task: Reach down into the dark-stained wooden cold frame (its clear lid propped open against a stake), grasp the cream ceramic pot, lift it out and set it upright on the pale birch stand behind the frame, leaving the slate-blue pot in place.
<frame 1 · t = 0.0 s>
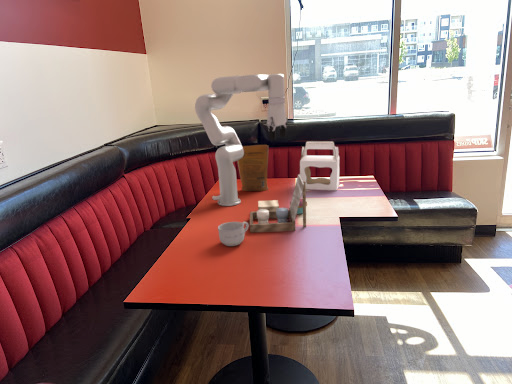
hand: (277, 138, 185), 37 cm above the table, tool pointing down, fingers open, 9 cm apart
stand: (268, 212, 194), on the table
cupcake: (298, 212, 193), on the table
white carry box: (319, 187, 236), on the table
cold frame: (271, 224, 179), on the table
blue pot: (282, 223, 180), resting in cold frame
pancake mix bag: (254, 190, 235), on the table
teacup: (235, 242, 161), on the table
cream pot: (263, 224, 179), resting in cold frame
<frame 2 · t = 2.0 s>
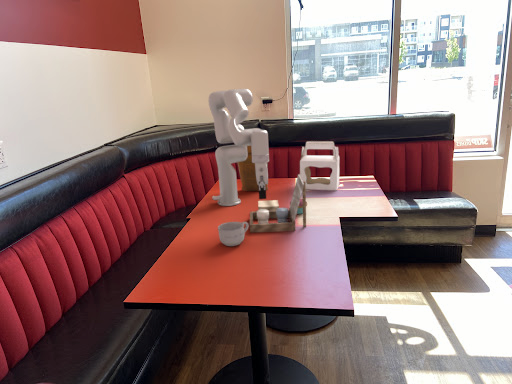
hand: (262, 195, 174), 14 cm above the table, tool pointing down, fingers open, 9 cm apart
nothing on the table moved.
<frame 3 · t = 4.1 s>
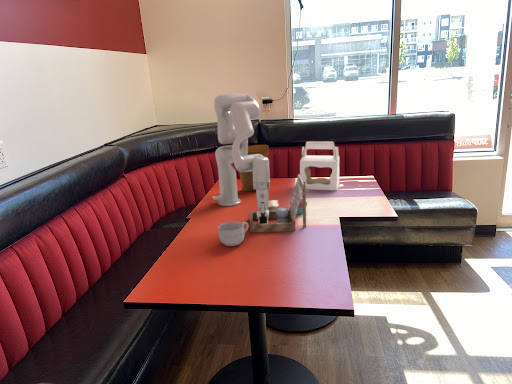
hand: (263, 221, 178), 1 cm above the table, tool pointing down, fingers closed on cream pot, 5 cm apart
cream pot: (263, 224, 179), resting in cold frame, touching gripper
everything else where it was.
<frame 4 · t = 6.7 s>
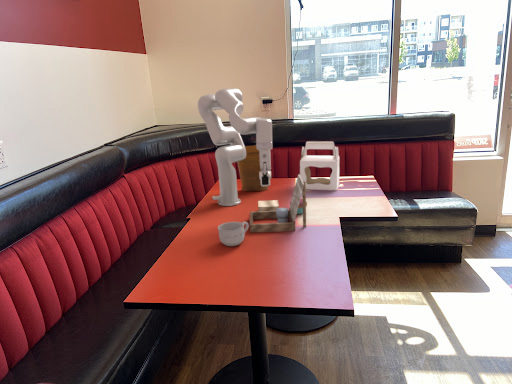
hand: (265, 182, 186), 17 cm above the table, tool pointing down, fingers closed on cream pot, 5 cm apart
cream pot: (265, 185, 186), point 16 cm above the table, touching gripper
everything else where it was.
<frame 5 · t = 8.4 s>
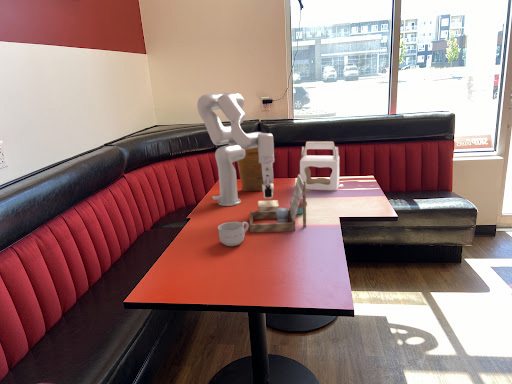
hand: (268, 194, 191), 10 cm above the table, tool pointing down, fingers closed on cream pot, 5 cm apart
cream pot: (268, 197, 192), point 8 cm above the table, touching gripper
everything else where it was.
when the fingers open (8 cm above the table, at t = 9.6 s): cream pot drops 2 cm, resting on stand.
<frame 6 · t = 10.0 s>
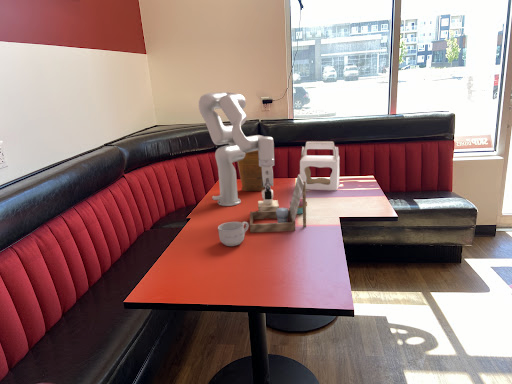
hand: (267, 196, 192), 9 cm above the table, tool pointing down, fingers open, 9 cm apart
cream pot: (268, 203, 193), point 5 cm above the table, touching stand
everything else where it was.
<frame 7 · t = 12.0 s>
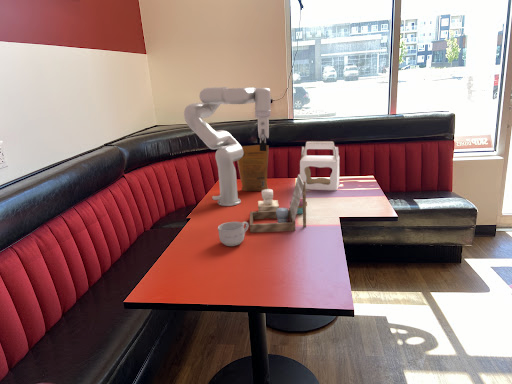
hand: (263, 148, 193), 31 cm above the table, tool pointing down, fingers open, 9 cm apart
nothing on the table moved.
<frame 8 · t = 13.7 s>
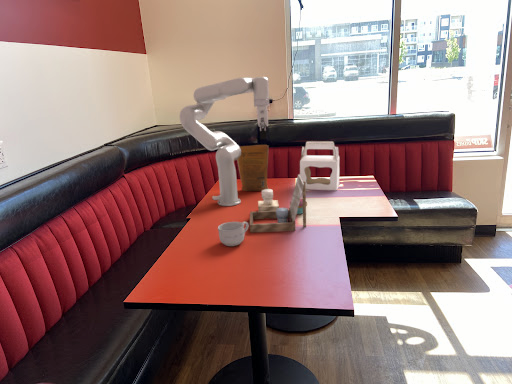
hand: (263, 137, 195), 36 cm above the table, tool pointing down, fingers open, 9 cm apart
nothing on the table moved.
at the end: cream pot inside the target area on the stand (0.2 cm from its centre), point 5.1 cm above the stand's base; cream pot tilted 2°; the gripper is holding nothing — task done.
